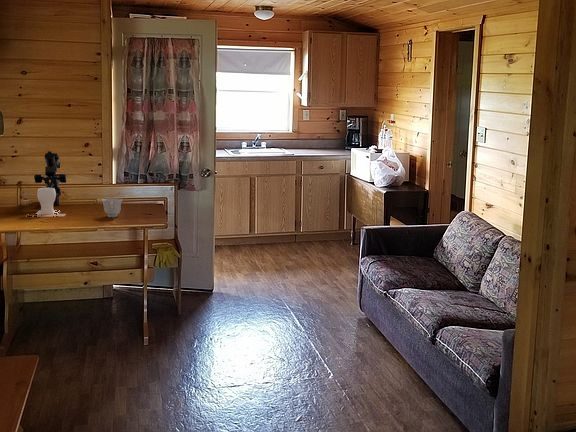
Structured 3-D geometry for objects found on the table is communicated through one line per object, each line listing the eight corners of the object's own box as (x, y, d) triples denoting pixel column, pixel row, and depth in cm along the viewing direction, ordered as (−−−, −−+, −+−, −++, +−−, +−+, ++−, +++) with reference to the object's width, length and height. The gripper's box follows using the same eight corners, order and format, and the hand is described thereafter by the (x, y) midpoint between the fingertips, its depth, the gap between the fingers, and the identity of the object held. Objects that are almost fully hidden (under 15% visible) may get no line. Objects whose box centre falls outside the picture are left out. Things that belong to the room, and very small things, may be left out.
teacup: (101, 219, 412) (100, 202, 410) (102, 214, 426) (102, 198, 424) (122, 218, 414) (122, 201, 412) (123, 214, 429) (122, 198, 427)
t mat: (30, 210, 434) (30, 210, 434) (68, 210, 439) (68, 210, 439) (25, 217, 414) (25, 216, 414) (64, 216, 419) (64, 216, 419)
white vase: (59, 212, 431) (58, 187, 429) (52, 215, 421) (51, 190, 418) (42, 211, 432) (41, 187, 430) (34, 214, 422) (33, 189, 419)
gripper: (33, 161, 439) (32, 181, 431) (65, 161, 443) (64, 181, 434) (36, 172, 448) (34, 192, 440) (67, 172, 452) (65, 192, 443)
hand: (49, 189), depth 439 cm, fingers closed
